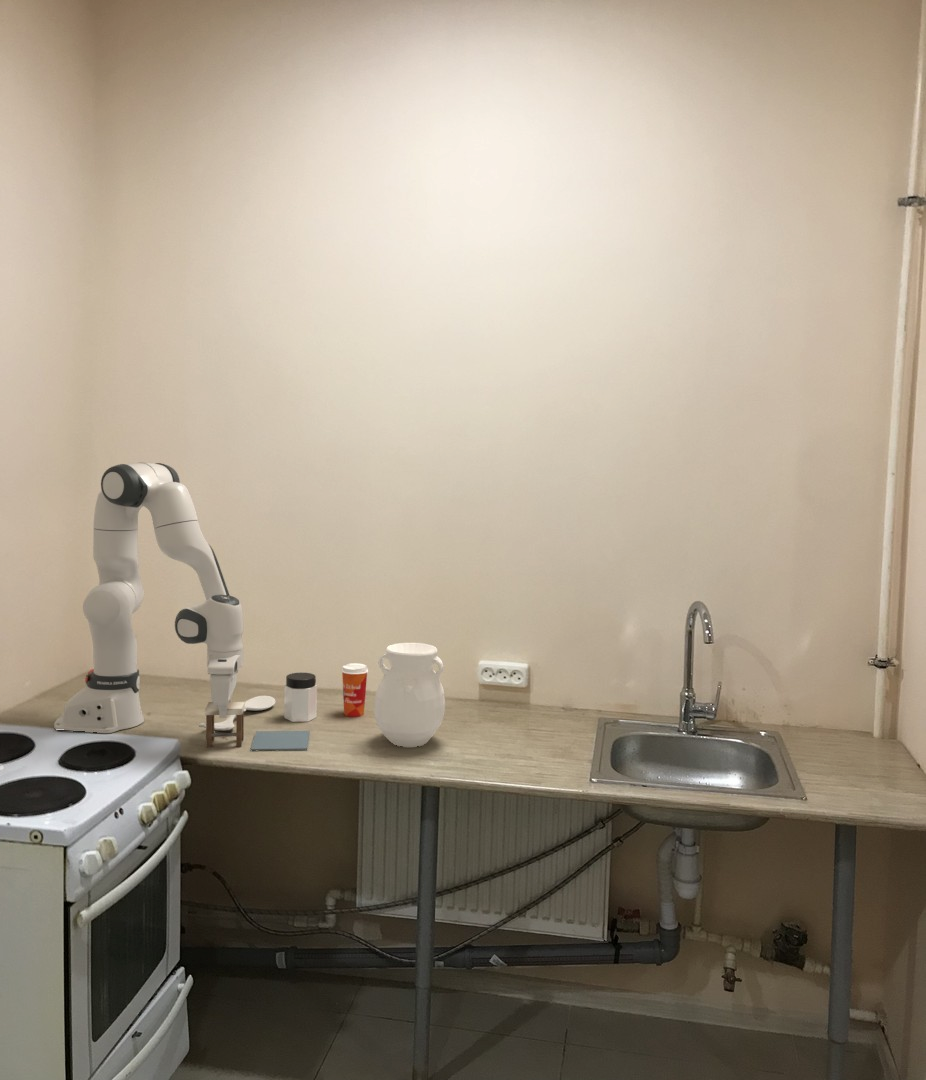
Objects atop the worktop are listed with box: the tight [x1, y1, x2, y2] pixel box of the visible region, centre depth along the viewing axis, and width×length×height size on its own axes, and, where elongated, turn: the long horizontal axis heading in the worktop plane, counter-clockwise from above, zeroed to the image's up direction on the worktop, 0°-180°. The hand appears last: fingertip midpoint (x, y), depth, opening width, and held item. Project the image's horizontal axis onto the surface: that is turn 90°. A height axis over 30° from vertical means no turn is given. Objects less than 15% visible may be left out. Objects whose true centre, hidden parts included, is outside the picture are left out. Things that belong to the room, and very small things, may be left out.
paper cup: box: [340, 663, 369, 718], centre depth 262 cm, size 8×8×14 cm
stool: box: [204, 701, 245, 748], centre depth 234 cm, size 9×6×10 cm, turn 97°
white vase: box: [373, 642, 446, 748], centre depth 240 cm, size 19×18×25 cm
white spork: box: [198, 695, 277, 732], centre depth 255 cm, size 9×32×4 cm, turn 167°
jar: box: [283, 672, 318, 723], centre depth 257 cm, size 9×8×12 cm
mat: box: [250, 730, 310, 752], centre depth 238 cm, size 14×14×1 cm
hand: (225, 712), depth 234 cm, fingers closed on stool, 6 cm apart
